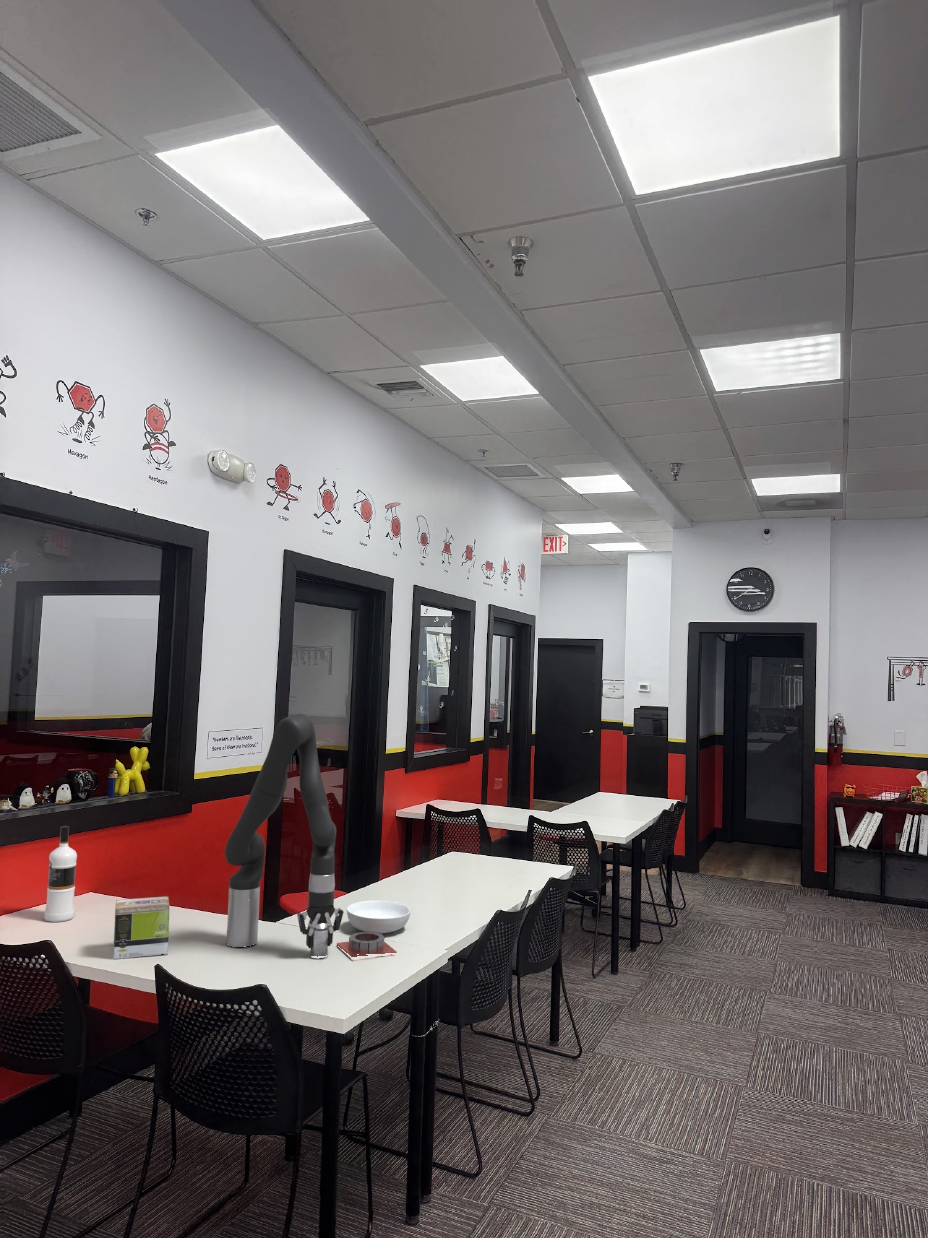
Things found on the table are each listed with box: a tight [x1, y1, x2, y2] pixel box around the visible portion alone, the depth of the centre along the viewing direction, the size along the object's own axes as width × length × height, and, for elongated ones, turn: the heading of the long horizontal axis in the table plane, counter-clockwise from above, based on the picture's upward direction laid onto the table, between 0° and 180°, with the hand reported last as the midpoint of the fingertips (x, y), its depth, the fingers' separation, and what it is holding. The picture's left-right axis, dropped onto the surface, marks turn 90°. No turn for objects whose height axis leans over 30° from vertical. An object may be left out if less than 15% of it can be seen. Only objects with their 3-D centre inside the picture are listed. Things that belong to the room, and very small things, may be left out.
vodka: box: [43, 825, 78, 923], centre depth 282 cm, size 9×9×30 cm
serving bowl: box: [346, 899, 411, 935], centre depth 281 cm, size 21×21×7 cm
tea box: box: [113, 895, 170, 960], centre depth 252 cm, size 15×10×15 cm
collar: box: [336, 931, 398, 957], centre depth 260 cm, size 14×14×4 cm
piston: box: [309, 922, 329, 957], centre depth 254 cm, size 5×5×10 cm
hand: (319, 946), depth 253 cm, fingers closed on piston, 5 cm apart
